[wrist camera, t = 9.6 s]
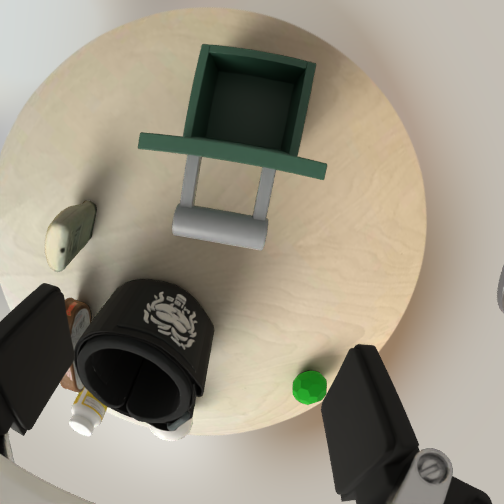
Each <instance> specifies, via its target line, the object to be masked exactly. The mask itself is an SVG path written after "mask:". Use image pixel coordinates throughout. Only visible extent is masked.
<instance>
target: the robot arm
mask: <svg viewBox="0 0 504 504" xmlns="http://www.w3.org/2000/svg"><path fill="white" fill-rule="evenodd" d="M74 357H75V353H74V348H73V344H72V339H71V334H70V329H69V324H68V318H67V313H66V306H65V300H64V295H63V293H61V290H60V289H59V288H58V287H56V286H53V285H50V284H47V283H43V284H41V285H40V286H39V287H38V288H37V289H36V290H35V291H33V292H32V293H31V294H30V295H29V296H28V297H27V298H25V299H24V300H23V301H22V302H21V303H20V304H19V305H18V306H17V307H15V308H14V309H13V310H12V311H11V312H10V313H9V314H8V315H7V316H6V317H5V318H4V319H3V320H2V321H1V322H0V504H95V503H92V502H90V501H87V500H85V499H83V498H80V497H78V496H76V495H73V494H71V493H69V492H66V491H64V490H62V489H60V488H58V487H56V486H54V485H52V484H50V483H48V482H46V481H44V480H43V479H41V478H39V477H37V476H35V475H33V474H32V473H30V472H28V471H26V470H25V469H23V468H21V467H20V466H18V465H16V464H15V463H14V459H13V455H12V450H11V446H10V441H9V435H8V431H9V429H10V427H11V428H12V429H13V430H15V431H17V432H18V433H20V434H21V435H23V436H24V435H25V433H26V431H27V430H30V429H32V427H33V426H34V424H35V422H36V420H37V419H38V417H39V415H40V414H41V412H42V410H43V408H44V407H45V406H46V404H47V402H48V401H49V399H50V397H51V396H52V394H53V393H54V391H55V389H56V388H57V386H58V385H59V383H60V382H61V380H62V378H63V377H64V375H65V374H66V372H67V371H68V369H69V368H70V366H71V365H72V363H73V361H74ZM321 412H322V417H323V422H324V428H325V433H326V438H327V443H328V449H329V455H330V461H331V466H332V472H333V478H334V483H335V490H336V492H337V494H341V500H342V501H350V500H356V504H492V502H491V500H490V498H489V496H488V495H487V494H486V493H484V492H483V491H481V490H479V489H477V488H474V487H473V486H471V485H469V484H467V483H465V482H463V481H461V480H459V479H457V478H455V477H453V476H452V473H453V468H452V463H451V462H450V460H449V458H448V457H447V456H446V455H445V454H444V453H443V452H441V451H440V450H437V449H433V448H427V449H423V450H421V451H419V448H418V446H419V443H418V441H417V439H416V436H415V433H414V431H413V429H412V426H411V424H410V421H409V419H408V417H407V415H406V412H405V410H404V408H403V405H402V403H401V401H400V398H399V396H398V394H397V392H396V389H395V387H394V385H393V383H392V381H391V379H390V376H389V374H388V372H387V370H386V368H385V366H384V364H383V362H382V360H381V357H380V355H379V353H378V351H377V349H376V347H375V346H373V345H361V344H358V345H356V346H355V347H354V348H351V349H350V350H349V351H348V353H347V356H346V358H345V360H344V362H343V364H342V366H341V368H340V370H339V372H338V374H337V376H336V378H335V380H334V382H333V384H332V385H331V387H330V389H329V391H328V393H327V395H326V397H325V398H324V400H323V402H322V407H321Z"/></svg>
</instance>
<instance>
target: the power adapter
mask: <svg viewBox="0 0 504 504" xmlns="http://www.w3.org/2000/svg"><path fill="white" fill-rule="evenodd" d="M96 211H97V207H96V205H95V204H94V203H93V202H91V201H87V200H86V201H84V202H83V204H80V205H75V206H70V207H68V208H66V209H64V210H63V211H61V212H60V213H59V214H58V215H57V216H56V217H55V218H54V220H53V221H52V223H51V224H50V226H49V227H48V230H47V234H46V239H45V254H46V258H47V262H48V264H49V266H50V268H51V269H52V270H54V271H56V272H60V271H62V270H63V269H65V268H66V266H67V265H68V264H69V263H70V262H71V261H72V259H73V258H74V257H75V256H76V255H77V254H78V252H79V251H80V250H81V249H82V248H83V247H84V246H85V245H86V244H87V242H88V241H89V239H90V238H91V237H92V231H93V226H94V221H95V216H96Z"/></svg>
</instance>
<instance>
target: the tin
mask: <svg viewBox="0 0 504 504" xmlns="http://www.w3.org/2000/svg"><path fill="white" fill-rule="evenodd" d="M65 306H66V313H67V318H68V324H69V329H70V334H71V339H72V344H73V348H74V349H75V345H76V343H77V341H78V340H79V338H80V337H81V336H82V334H83V333H84V331H85V330H86V329H87V327H88V326H89V325H90V323H91V312H90V308H89V306H88V305H87V304H85V303H83V302H80V301H77V300H74V299H73V298H67V299H66V300H65ZM60 384H61V386H62V387H63V388H65V389H69V390H72V391H75V392H82V391H83V389H84V385H83V384H82V382H81V380H80V378H79V376H78V373H77V370H76V367H75V363H74V361H73V363H72V365H71V366H70V368H69V369H68V371H67V372H66V374H65V375H64V377H63V378H62V380H61V382H60Z"/></svg>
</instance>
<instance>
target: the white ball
mask: <svg viewBox="0 0 504 504" xmlns="http://www.w3.org/2000/svg"><path fill="white" fill-rule="evenodd" d="M192 424H193V418H191V419H190V420H188V421H187V422H185V423H184V424H182V425H181V426H180V427H178V428H177V430H175V431H163V430H159V429H157V428H155V427H153V426H152V425H150V424H148V426H149V428H150V430H151V431H152V432H153V434H154V435H155V436H157V437H158V438H160V439H163V440H167V441H177V440H180V439H182V438H184V437H185V436H186V435H187V434H188V433H189V432H190V430H191V427H192Z"/></svg>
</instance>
